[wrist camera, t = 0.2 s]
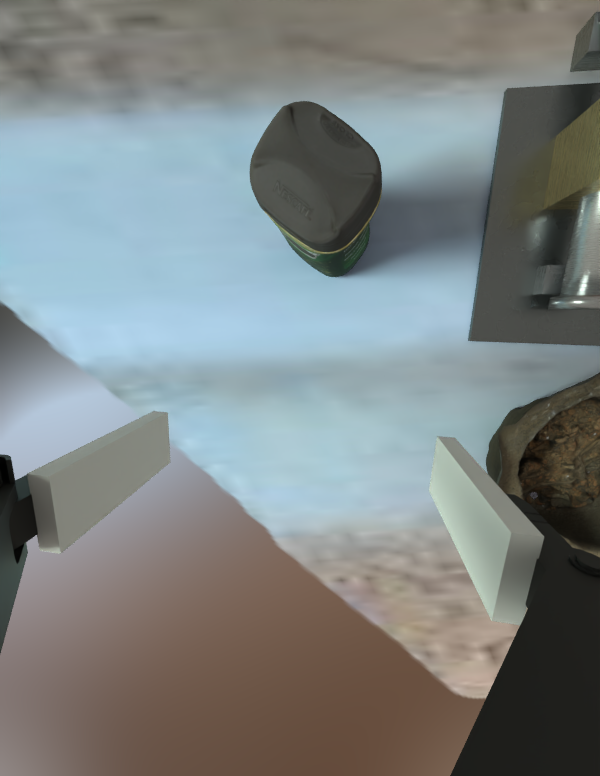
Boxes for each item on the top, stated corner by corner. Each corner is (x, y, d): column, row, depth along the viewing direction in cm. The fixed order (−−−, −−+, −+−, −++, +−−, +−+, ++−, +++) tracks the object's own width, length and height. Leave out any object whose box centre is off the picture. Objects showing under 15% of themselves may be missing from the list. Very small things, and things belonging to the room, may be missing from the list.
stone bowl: (427, 424, 42) (455, 448, 33) (614, 321, 38) (705, 317, 29) (513, 569, 44) (561, 630, 35) (698, 487, 40) (806, 532, 31)
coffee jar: (379, 232, 38) (410, 156, 20) (338, 288, 40) (332, 264, 22) (316, 182, 38) (290, 58, 20) (277, 240, 40) (222, 176, 22)
